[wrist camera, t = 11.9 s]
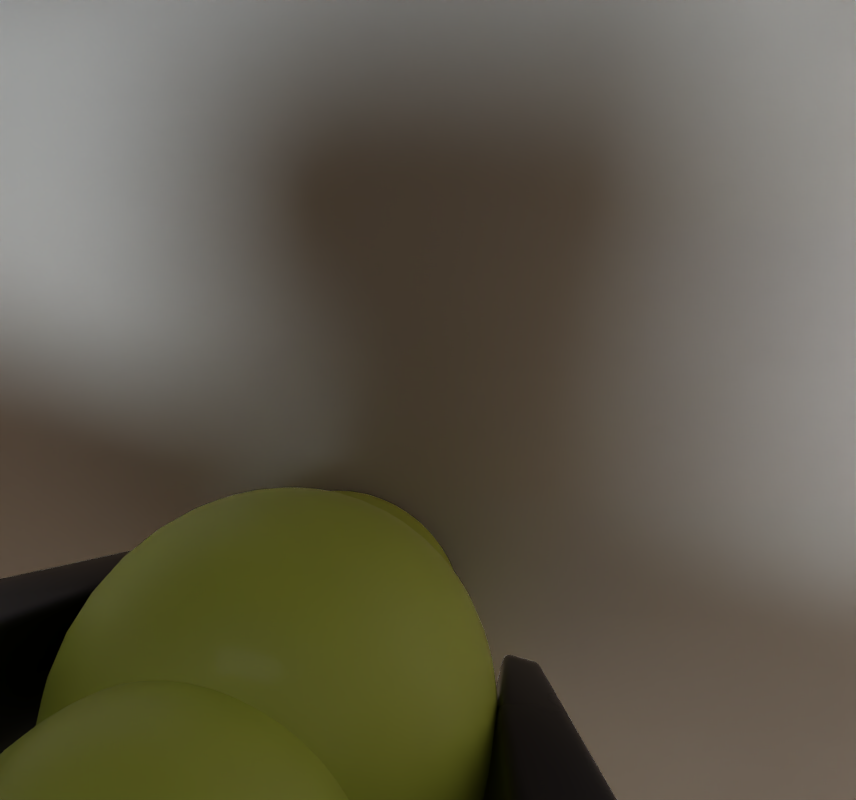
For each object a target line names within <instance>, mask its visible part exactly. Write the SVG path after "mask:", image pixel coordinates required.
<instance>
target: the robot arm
mask: <svg viewBox="0 0 856 800" xmlns="http://www.w3.org/2000/svg"><path fill="white" fill-rule="evenodd" d="M129 552H131V551H128V552H123V553H119V554H114V555H109V556H105V557H100V558H96V559H91V560H86V561H82V562H77V563H72V564H68V565H63V566H59V567H54V568H49V569H45V570H40V571H35V572H31V573H26V574H22V575H17V576H12V577H8V578H3V579H0V754H1V753H2V752H3V751H4V750H5V749H7V748H8V747H9V746H10V745H12V744H13V743H14V742H16V741H17V740H18V739H19V738H21V737H22V736H23V735H25V734H26V733H27V732H28V731H30V730H31V729H32V728H34V727H35V726H36V722H37V718H38V713H39V709H40V704H41V700H42V696H43V692H44V688H45V684H46V680H47V677H48V675H49V672H50V670H51V668H52V665H53V663H54V660H55V658H56V656H57V653H58V651H59V649H60V646H61V644H62V642H63V639H64V637H65V635H66V633H67V631H68V629H69V628H70V626H71V625H72V623H73V622H74V620H75V618H76V617H77V615H78V614H79V612H80V610H81V609H82V607H83V606H84V604H85V603H86V601H87V600H88V598H89V596H90V595H91V593H92V592H93V591H94V590H95V588H96V587H97V586H98V585H99V584H100V583H101V582H102V581H103V579H104V578H105V577H106V576H107V575H108V574H109V573H110V572H111V571H112V569H113V568H114V567H115V566H116V565H117V564H118V563H119V562H120V561H121V559H122V558H123V557H124V556H126V555H127V554H128V553H129ZM496 689H497V696H498V699H497V718H496V725H495V732H494V738H493V747H492V755H491V761H490V768H489V774H488V778H487V783H486V788H485V793H484V798H483V800H617V799H616V798H615V796H614V794H613V792H612V791H611V789H610V787H609V785H608V784H607V782H606V780H605V779H604V777H603V775H602V773H601V772H600V770H599V768H598V766H597V765H596V763H595V761H594V759H593V758H592V756H591V754H590V752H589V751H588V749H587V747H586V745H585V744H584V742H583V740H582V739H581V737H580V735H579V733H578V732H577V730H576V728H575V726H574V725H573V723H572V721H571V719H570V718H569V716H568V714H567V712H566V711H565V709H564V707H563V706H562V704H561V702H560V700H559V699H558V697H557V695H556V693H555V692H554V690H553V688H552V686H551V685H550V683H549V681H548V679H547V678H546V676H545V674H544V673H543V671H542V669H541V667H540V666H539V665H538V664H537V663H536V662H534V661H530V660H527V659H523V658H519V657H516V656H512V655H507V656H505V657H504V659H503V661H502V665H501V669H500V673H499V677H498V681H497V686H496Z"/></svg>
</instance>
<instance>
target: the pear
mask: <svg viewBox="0 0 856 800" xmlns="http://www.w3.org/2000/svg"><path fill="white" fill-rule="evenodd" d="M497 699H498V696H497V689H496V682H495V675H494V668H493V662H492V656H491V652H490V648H489V645H488V641H487V638H486V634H485V631H484V628H483V626H482V624H481V621H480V619H479V617H478V614H477V612H476V610H475V608H474V605H473V603H472V601H471V598H470V596H469V595H468V593H467V591H466V589H465V588H464V586H463V584H462V583H461V581H460V579H459V578H458V576H457V575H456V573H455V572H454V571H453V568H452V566H451V564H450V562H449V559H448V558H447V556H446V554H445V552H444V551H443V549H442V547H441V546H440V544H439V543H438V542H437V541H436V539H435V538H434V537H433V535H432V534H431V533H430V532H429V531H428V530H427V529H426V528H425V527H424V526H423V525H422V524H421V523H420V522H419V521H418V520H416V519H415V518H414V517H413V516H411V515H410V514H409V513H407V512H406V511H404V510H402V509H401V508H399V507H398V506H396V505H394V504H392V503H390V502H387V501H385V500H383V499H381V498H378V497H374V496H371V495H368V494H364V493H358V492H353V491H338V490H337V491H326V490H321V489H314V488H297V487H287V488H271V489H258V490H253V491H249V492H244V493H239V494H235V495H232V496H228V497H225V498H221V499H218V500H216V501H213V502H210V503H208V504H205V505H203V506H200V507H197V508H195V509H193V510H192V511H190V512H188V513H186V514H184V515H182V516H181V517H179V518H177V519H175V520H173V521H172V522H170V523H168V524H166V525H165V526H163V527H161V528H159V529H158V530H157V531H156V532H154V533H153V534H152V535H151V536H149V537H148V538H147V539H146V540H144V541H143V542H142V543H141V544H139V545H138V546H137V547H136V548H134V549H133V550H132V551H131V552H129V553H128V554H127V555H126V556H124V557H123V558H122V559H121V561H120V562H119V563H118V564H117V565H116V566H115V567H114V568H113V569H112V571H111V572H110V573H109V574H108V575H107V576H106V577H105V578H104V579H103V581H102V582H101V583H100V584H99V585H98V586H97V587H96V588H95V590H94V591H93V592H92V593H91V595H90V596H89V598H88V600H87V601H86V603H85V604H84V606H83V607H82V609H81V610H80V612H79V614H78V615H77V617H76V618H75V620H74V622H73V623H72V625H71V626H70V628H69V629H68V631H67V633H66V635H65V637H64V639H63V642H62V644H61V646H60V649H59V651H58V653H57V656H56V658H55V660H54V663H53V665H52V668H51V670H50V672H49V675H48V677H47V680H46V684H45V688H44V692H43V696H42V700H41V704H40V709H39V713H38V718H37V722H36V726H35V727H34V728H32V729H31V730H30V731H28V732H27V733H26V734H25V735H23V736H22V737H21V738H19V739H18V740H17V741H16V742H14V743H13V744H12V745H10V746H9V747H8V748H7V749H5V750H4V751H3V752H2V753H1V754H0V800H483V798H484V793H485V788H486V783H487V778H488V774H489V768H490V761H491V755H492V747H493V738H494V732H495V725H496V718H497Z"/></svg>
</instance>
